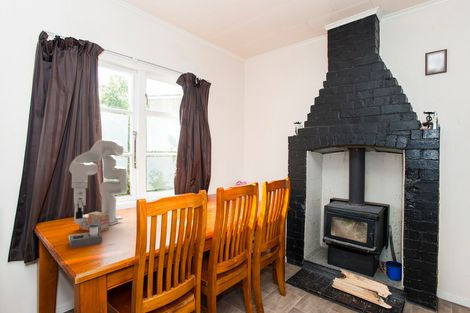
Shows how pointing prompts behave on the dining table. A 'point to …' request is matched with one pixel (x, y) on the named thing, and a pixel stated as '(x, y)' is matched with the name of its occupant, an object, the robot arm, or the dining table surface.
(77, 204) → the robot arm
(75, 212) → the plug
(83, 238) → the socket strip
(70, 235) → the tray
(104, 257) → the dining table surface
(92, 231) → the grey capped white peg
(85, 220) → the stack of blocks
